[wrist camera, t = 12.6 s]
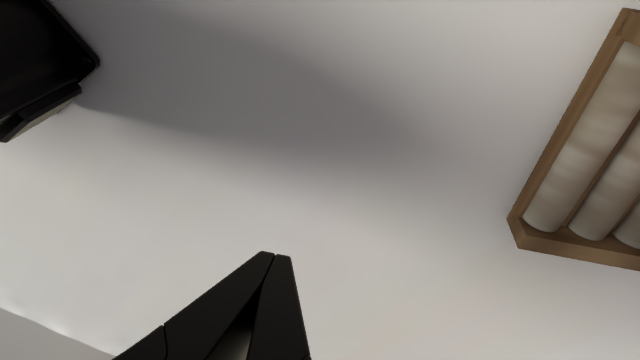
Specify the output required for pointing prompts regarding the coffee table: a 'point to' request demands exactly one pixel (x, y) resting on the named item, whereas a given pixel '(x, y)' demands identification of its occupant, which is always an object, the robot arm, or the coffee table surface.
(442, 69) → the coffee table surface
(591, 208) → the roller track
